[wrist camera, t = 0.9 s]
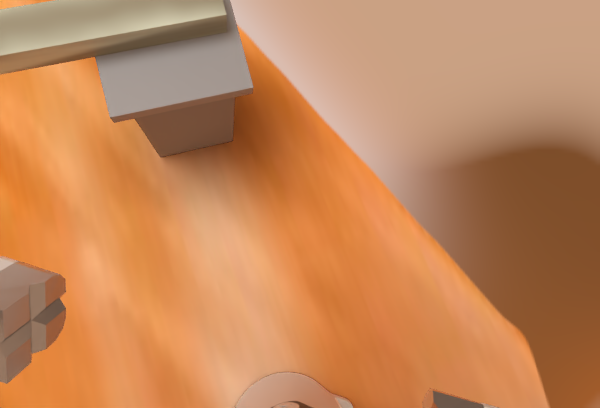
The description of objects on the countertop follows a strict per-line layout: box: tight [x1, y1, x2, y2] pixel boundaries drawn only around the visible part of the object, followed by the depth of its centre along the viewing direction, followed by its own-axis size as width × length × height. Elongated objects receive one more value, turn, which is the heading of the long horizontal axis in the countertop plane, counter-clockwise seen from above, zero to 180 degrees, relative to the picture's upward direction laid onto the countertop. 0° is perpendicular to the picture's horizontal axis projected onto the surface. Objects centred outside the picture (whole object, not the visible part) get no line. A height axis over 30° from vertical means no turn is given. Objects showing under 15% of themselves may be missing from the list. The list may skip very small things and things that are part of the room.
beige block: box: [0, 0, 227, 74], centre depth 38 cm, size 4×19×3 cm, turn 105°
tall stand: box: [95, 0, 253, 157], centre depth 53 cm, size 14×12×26 cm
